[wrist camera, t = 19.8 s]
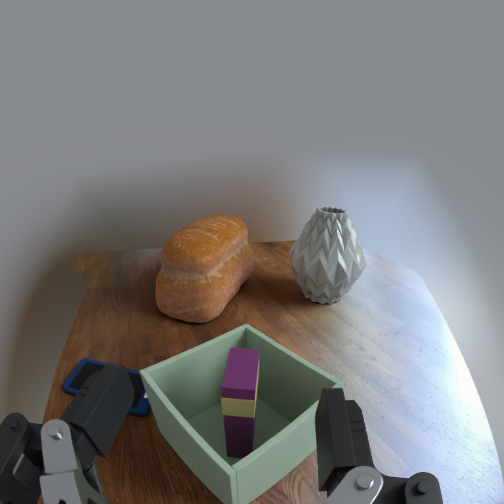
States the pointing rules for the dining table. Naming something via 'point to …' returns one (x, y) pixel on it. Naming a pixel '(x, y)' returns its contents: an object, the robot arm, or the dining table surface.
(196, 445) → the open storage box
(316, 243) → the vase
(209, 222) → the bread
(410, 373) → the dining table surface
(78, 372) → the cell phone
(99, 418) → the robot arm
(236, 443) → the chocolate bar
